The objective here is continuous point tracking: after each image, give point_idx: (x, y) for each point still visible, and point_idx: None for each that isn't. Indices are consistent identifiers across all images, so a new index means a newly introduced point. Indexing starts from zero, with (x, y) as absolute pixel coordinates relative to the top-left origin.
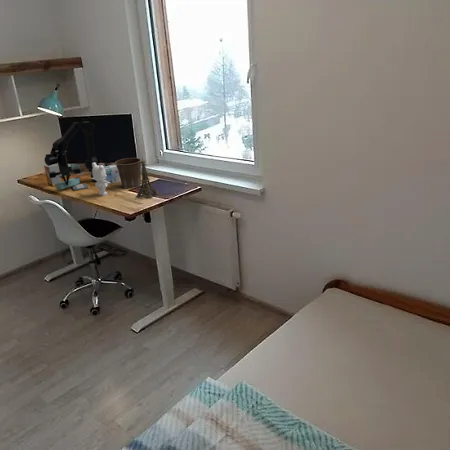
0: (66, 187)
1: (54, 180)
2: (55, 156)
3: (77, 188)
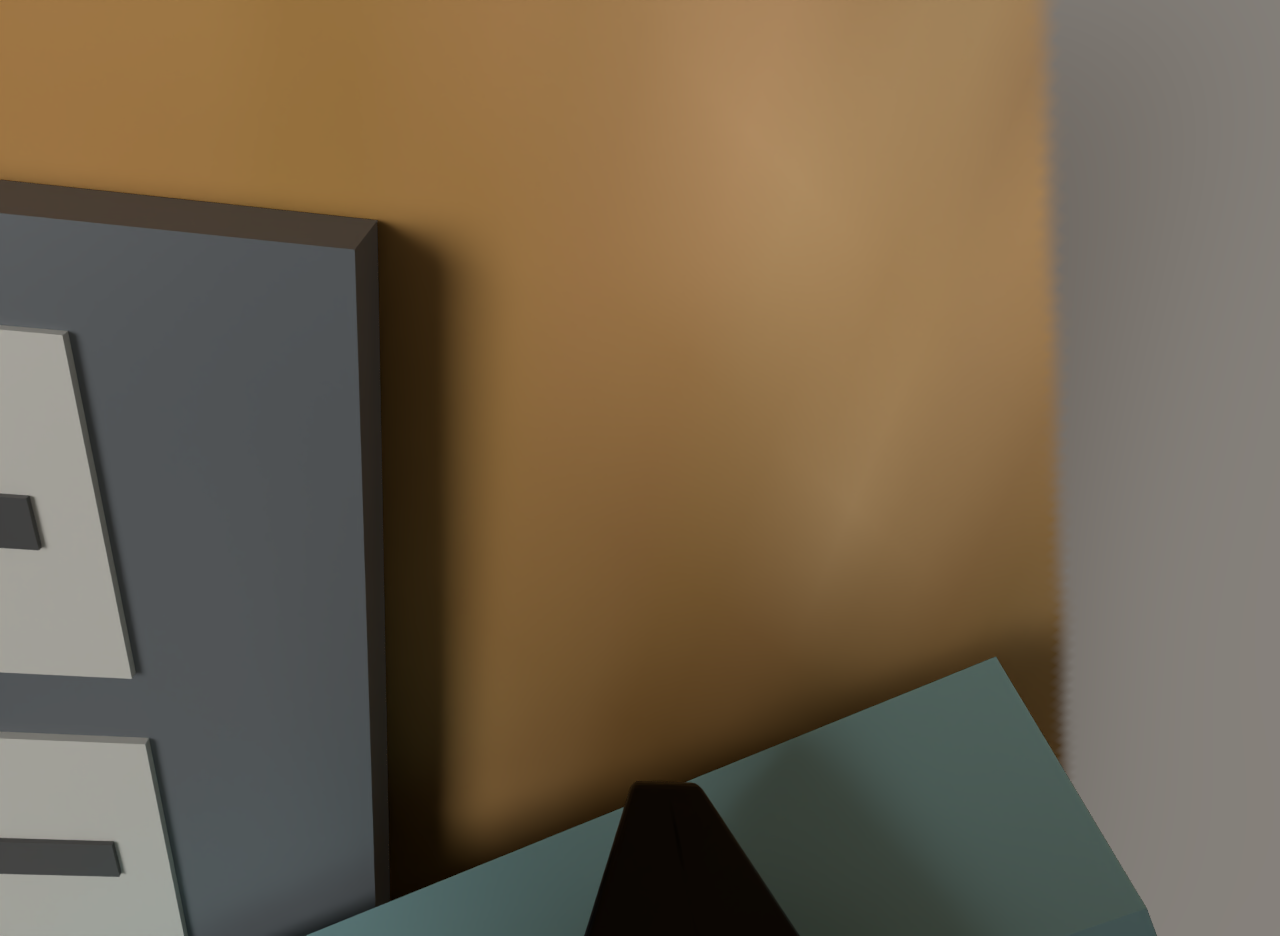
0: None
1: None
2: None
3: (88, 343)
